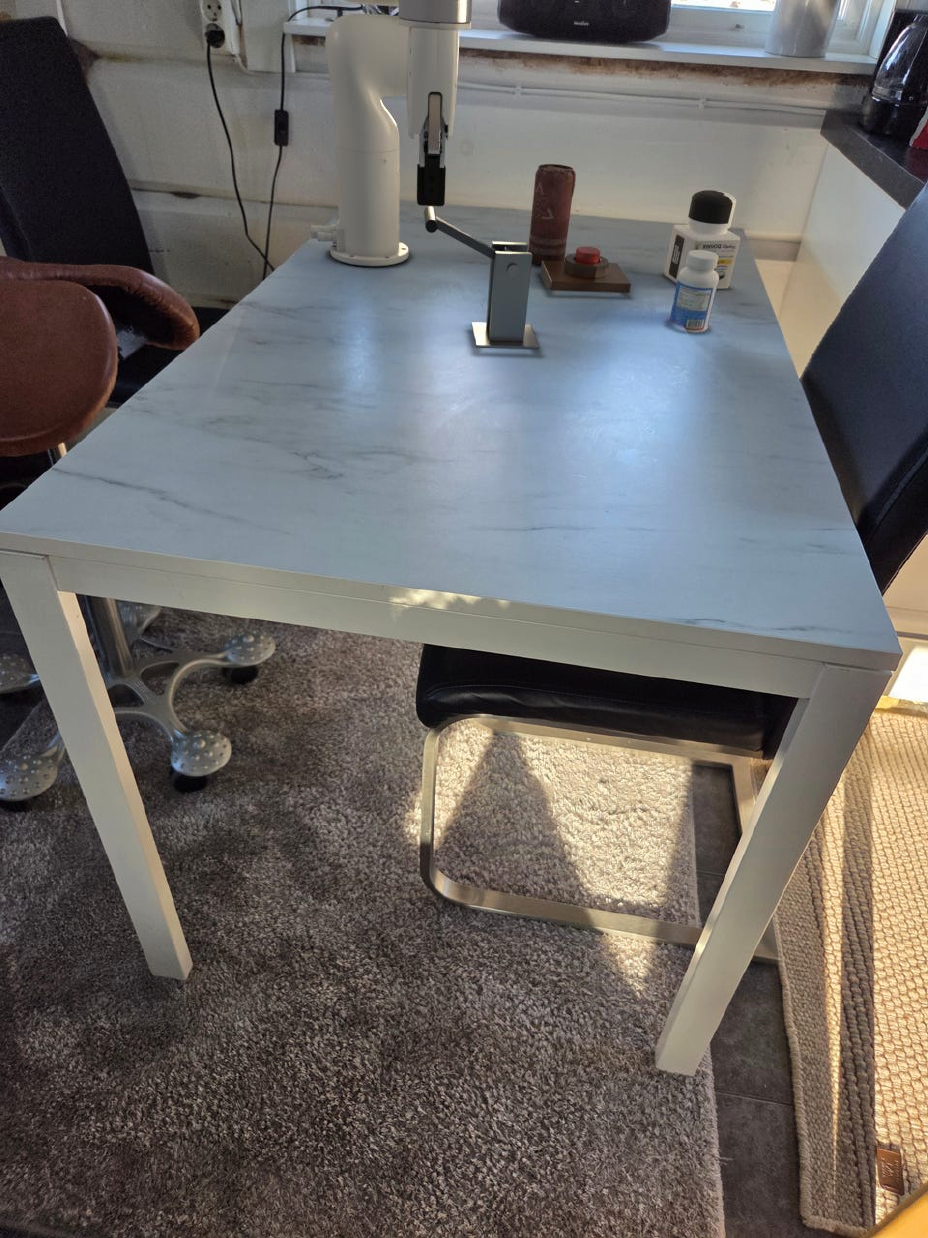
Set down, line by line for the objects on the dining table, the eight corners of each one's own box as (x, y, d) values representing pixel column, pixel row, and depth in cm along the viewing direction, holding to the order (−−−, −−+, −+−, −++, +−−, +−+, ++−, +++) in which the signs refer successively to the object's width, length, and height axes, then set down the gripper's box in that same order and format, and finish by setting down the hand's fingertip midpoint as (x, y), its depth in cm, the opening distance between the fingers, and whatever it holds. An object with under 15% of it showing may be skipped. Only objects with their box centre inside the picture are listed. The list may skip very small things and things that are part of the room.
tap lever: (421, 233, 96) (430, 213, 95) (419, 219, 100) (428, 200, 99) (518, 285, 100) (528, 267, 99) (512, 270, 105) (522, 252, 104)
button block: (549, 296, 123) (553, 268, 121) (540, 274, 131) (543, 248, 128) (628, 298, 124) (633, 271, 122) (614, 277, 132) (618, 250, 129)
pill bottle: (679, 316, 119) (695, 245, 113) (713, 326, 117) (731, 254, 111) (661, 326, 116) (676, 253, 110) (695, 336, 114) (713, 262, 107)
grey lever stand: (475, 354, 105) (482, 256, 97) (470, 330, 111) (476, 237, 103) (538, 356, 105) (549, 258, 98) (529, 332, 111) (539, 239, 104)
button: (577, 265, 124) (578, 252, 123) (573, 257, 127) (574, 245, 125) (600, 266, 124) (602, 253, 123) (596, 258, 127) (597, 246, 126)
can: (563, 269, 134) (575, 172, 125) (524, 264, 135) (534, 168, 126) (567, 258, 138) (579, 165, 130) (529, 254, 139) (539, 160, 130)
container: (684, 290, 129) (704, 199, 120) (662, 274, 134) (680, 186, 126) (728, 289, 130) (751, 199, 122) (705, 273, 136) (725, 186, 128)
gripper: (397, 2, 90) (397, 188, 102) (399, 11, 79) (398, 219, 90) (466, 7, 91) (458, 190, 103) (477, 16, 80) (467, 222, 91)
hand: (430, 203), depth 96 cm, fingers closed
